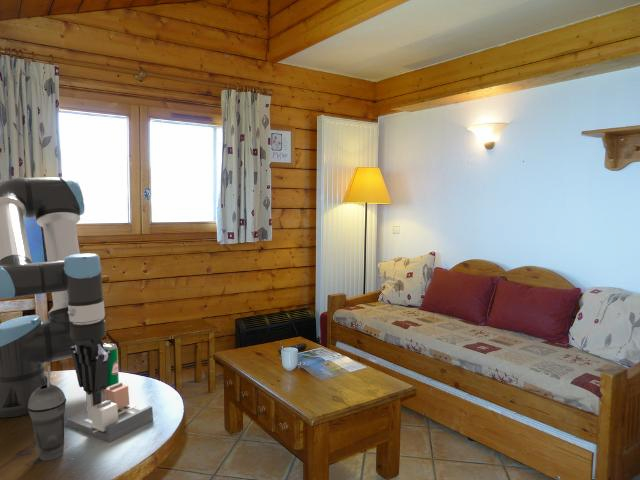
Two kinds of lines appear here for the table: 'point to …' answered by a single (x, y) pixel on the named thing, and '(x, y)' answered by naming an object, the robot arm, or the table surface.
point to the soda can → (112, 364)
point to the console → (125, 424)
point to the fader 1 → (117, 395)
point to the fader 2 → (104, 415)
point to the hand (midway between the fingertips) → (95, 417)
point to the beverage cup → (48, 419)
